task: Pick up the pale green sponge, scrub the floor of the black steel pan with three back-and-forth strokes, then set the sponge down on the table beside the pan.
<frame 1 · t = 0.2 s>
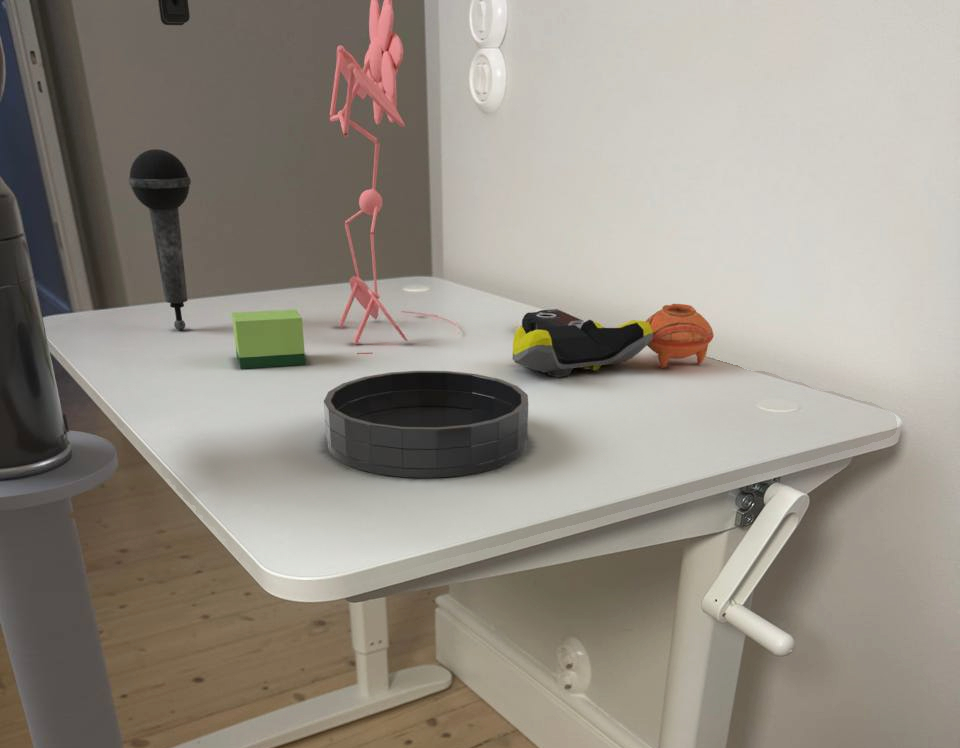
hand: (175, 23, 88), 31 cm above the table, tool pointing down, fingers open, 8 cm apart
camera: (555, 336, 121), on the table
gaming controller: (572, 372, 107), on the table
figurine: (401, 334, 122), on the table
microphone: (180, 331, 122), on the table
sponge: (271, 361, 109), on the table
pan: (427, 442, 86), on the table
pot: (672, 364, 110), on the table
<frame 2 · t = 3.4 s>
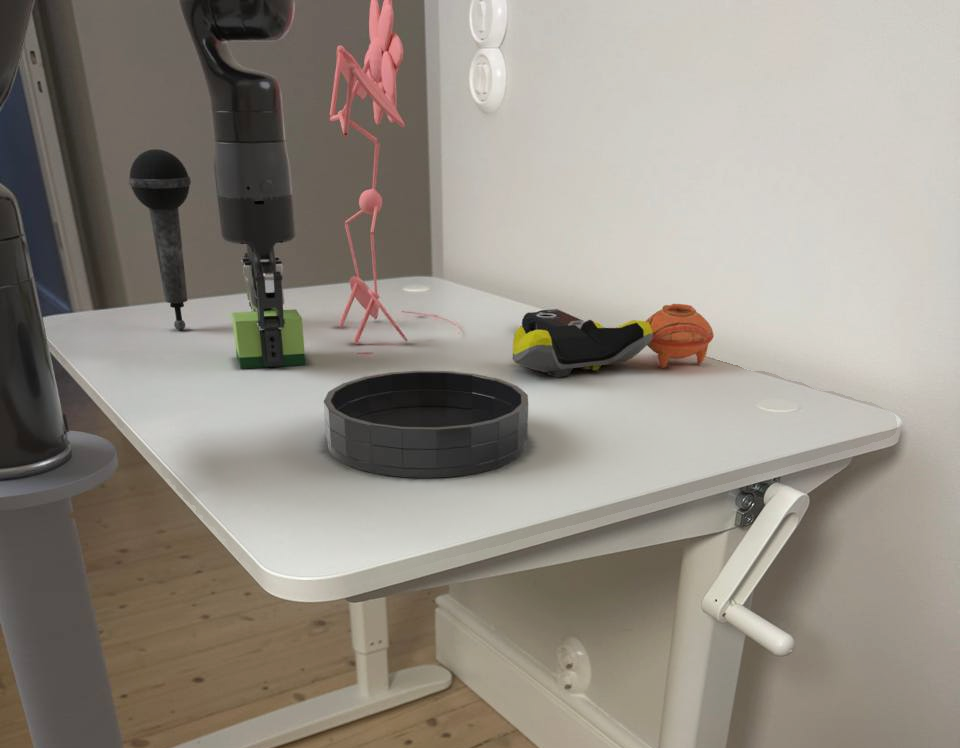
hand: (270, 358, 109), 0 cm above the table, tool pointing down, fingers closed on sponge, 4 cm apart
sponge: (271, 361, 109), on the table, touching gripper
everything else where it was.
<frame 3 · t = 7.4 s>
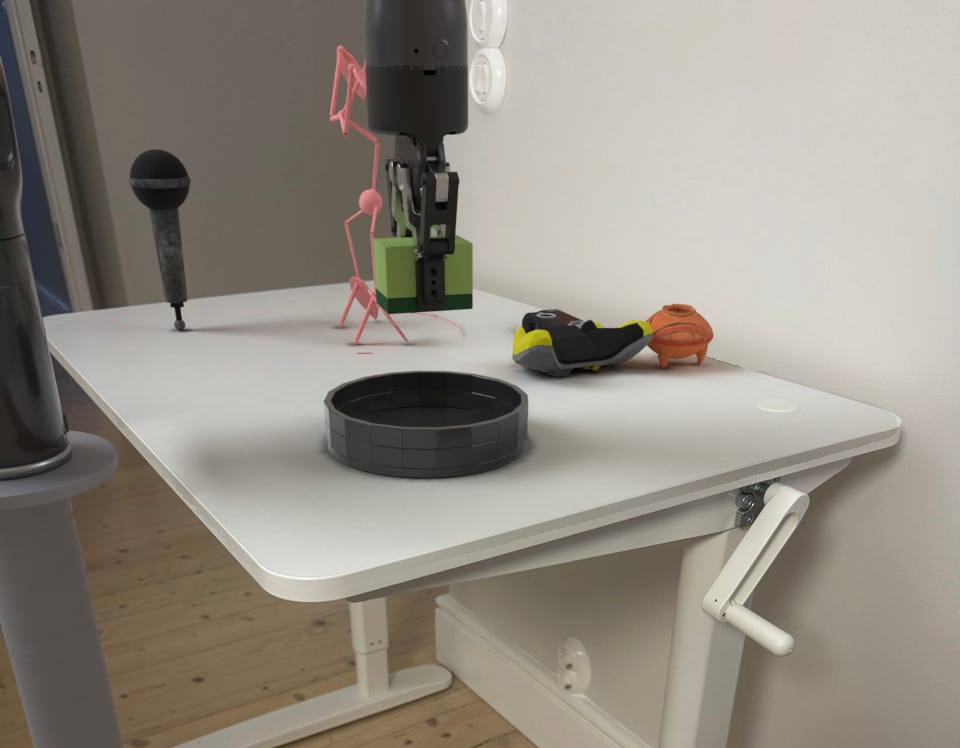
hand: (423, 302, 80), 12 cm above the table, tool pointing down, fingers closed on sponge, 4 cm apart
sponge: (424, 306, 81), point 11 cm above the table, touching gripper
everything else where it was.
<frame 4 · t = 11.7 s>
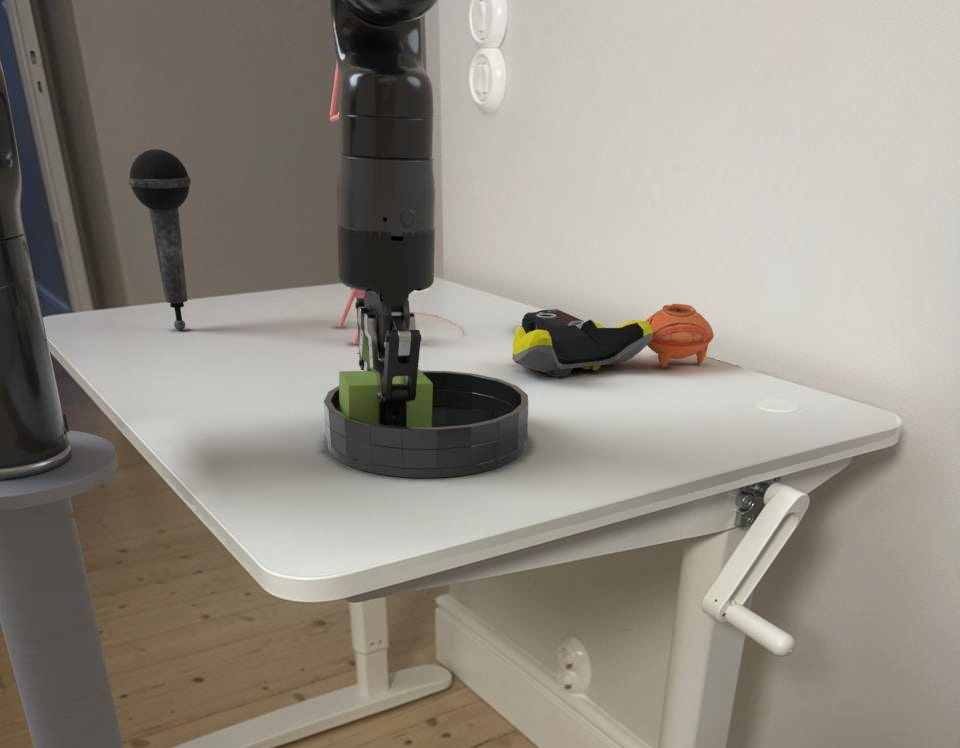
hand: (386, 435, 84), 1 cm above the table, tool pointing down, fingers closed on sponge, 4 cm apart
sponge: (385, 435, 84), point 1 cm above the table, touching gripper, pan
everything else where it was.
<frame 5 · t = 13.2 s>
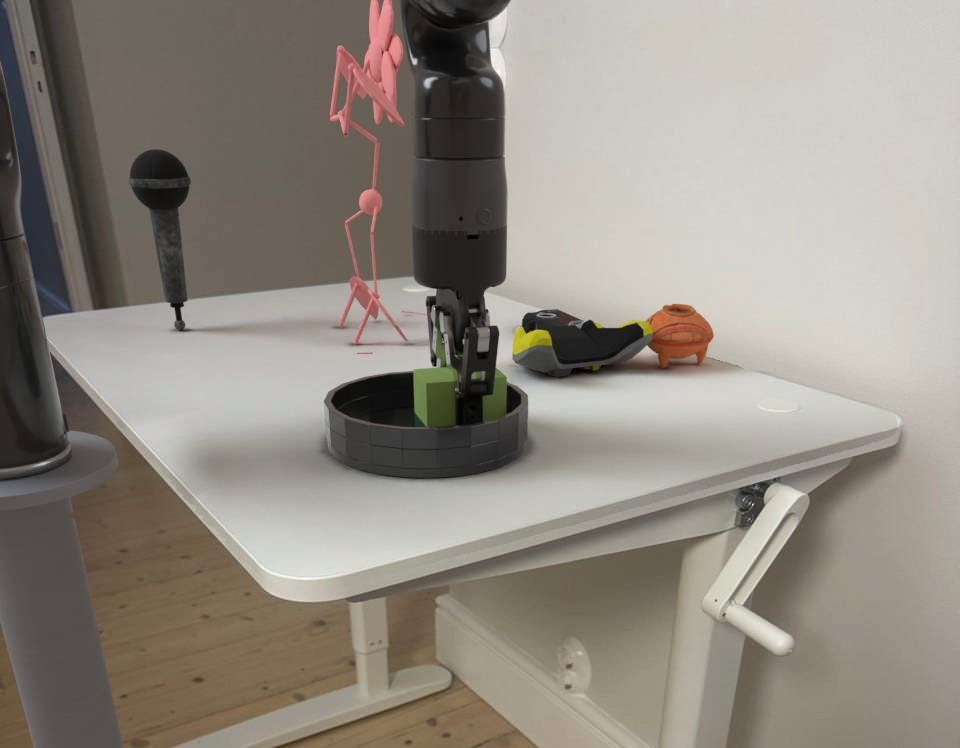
hand: (461, 429, 86), 1 cm above the table, tool pointing down, fingers closed on sponge, 4 cm apart
sponge: (459, 430, 86), point 1 cm above the table, touching gripper
everything else where it was.
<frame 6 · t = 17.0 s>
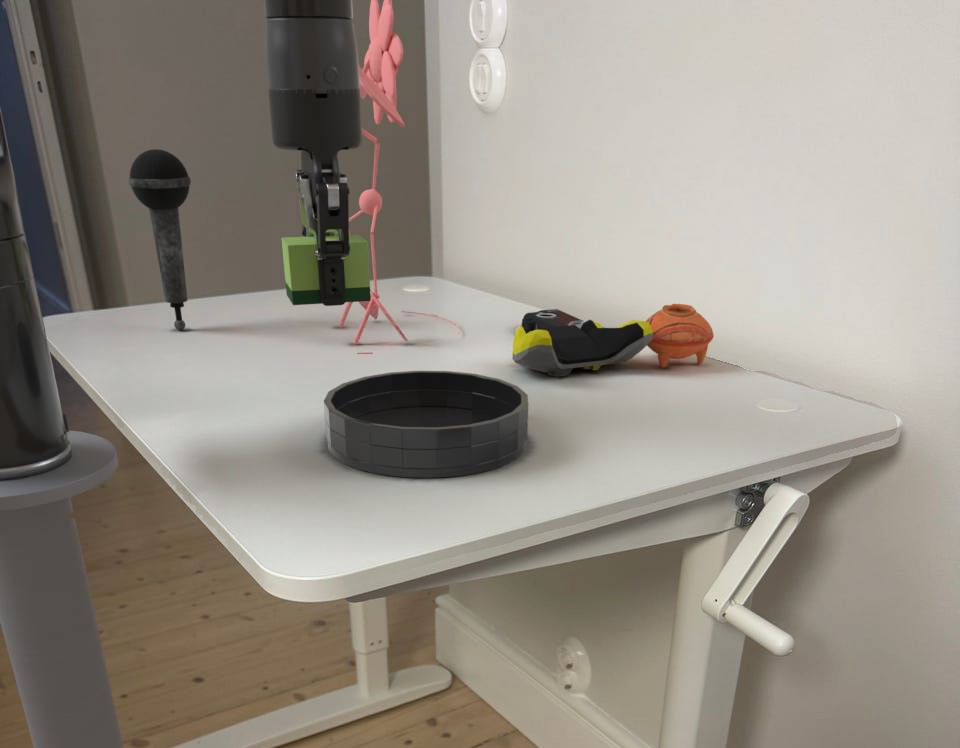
hand: (329, 298, 90), 10 cm above the table, tool pointing down, fingers closed on sponge, 4 cm apart
sponge: (328, 298, 90), point 10 cm above the table, touching gripper
everything else where it was.
when the fingers open (0 cm above the table, at t = 19.9 s): sponge stays where it is, on the table.
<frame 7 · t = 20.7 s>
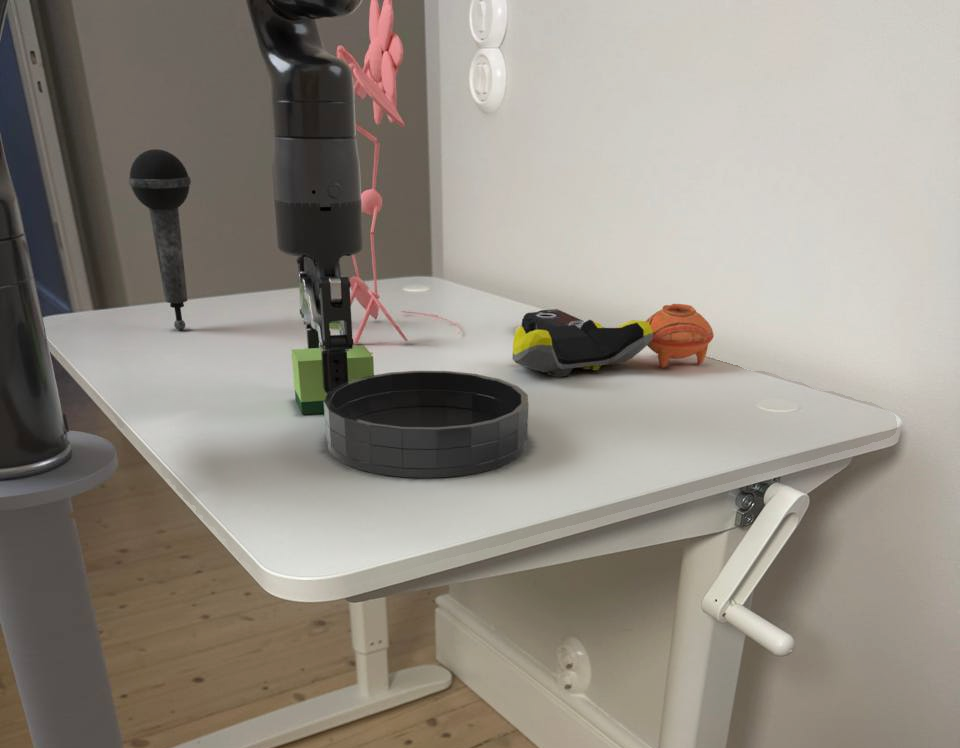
hand: (328, 380, 94), 2 cm above the table, tool pointing down, fingers open, 8 cm apart
sponge: (335, 405, 95), on the table
everything else where it was.
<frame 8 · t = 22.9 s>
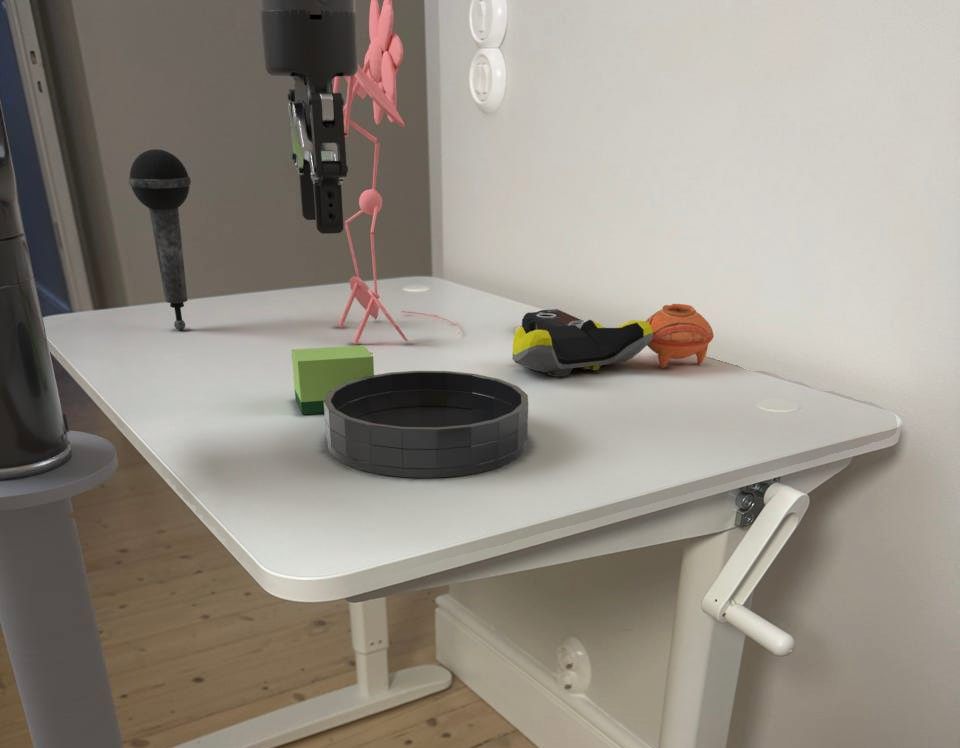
hand: (322, 225, 87), 16 cm above the table, tool pointing down, fingers open, 8 cm apart
nothing on the table moved.
at the end: sponge 0.1 cm from the target spot, on the table; sponge touching table; sponge tilted 0° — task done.
